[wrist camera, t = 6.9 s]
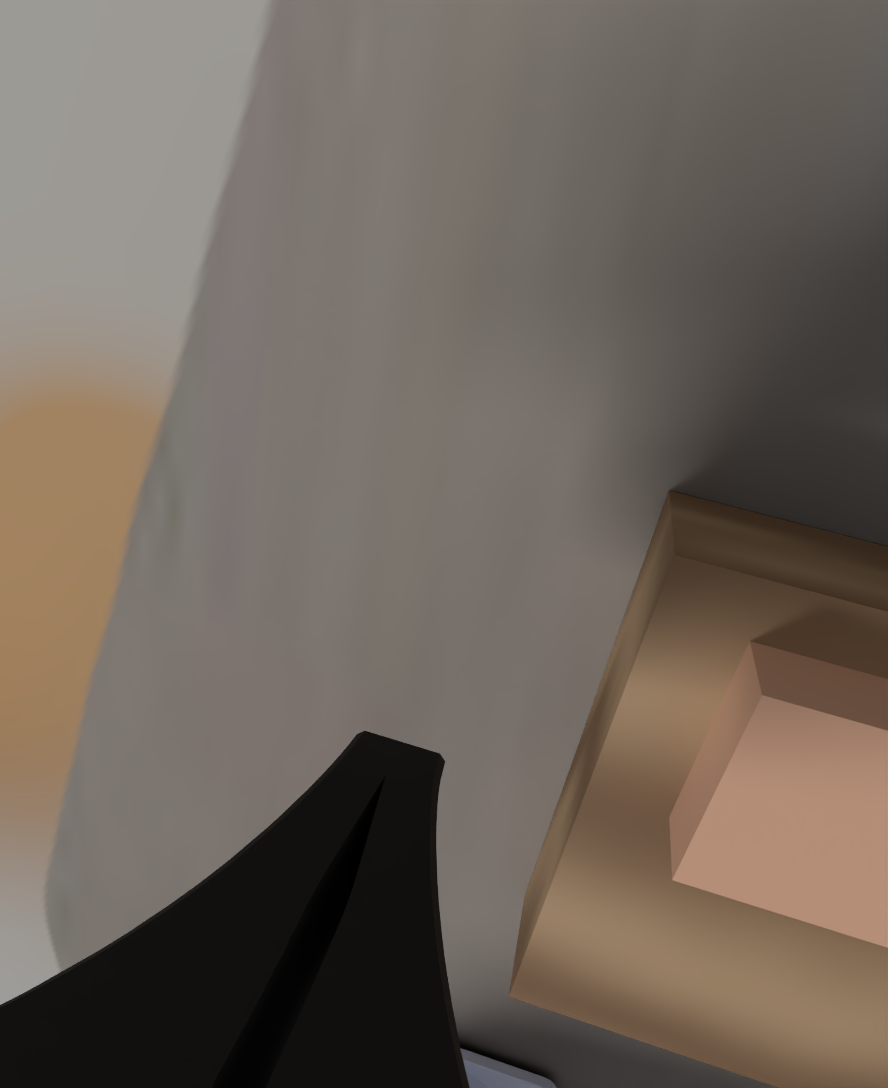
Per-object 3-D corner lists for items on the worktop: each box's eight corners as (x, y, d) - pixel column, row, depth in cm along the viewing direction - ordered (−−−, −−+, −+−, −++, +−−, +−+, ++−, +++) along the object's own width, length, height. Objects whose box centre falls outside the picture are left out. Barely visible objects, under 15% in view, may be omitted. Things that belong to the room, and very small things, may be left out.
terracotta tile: (893, 885, 15) (918, 957, 14) (669, 817, 16) (671, 880, 15) (1012, 713, 13) (1056, 778, 12) (750, 641, 14) (761, 695, 12)
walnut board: (919, 1025, 21) (959, 1149, 18) (524, 897, 22) (509, 996, 20) (1239, 637, 15) (1367, 739, 12) (669, 490, 16) (674, 554, 13)
